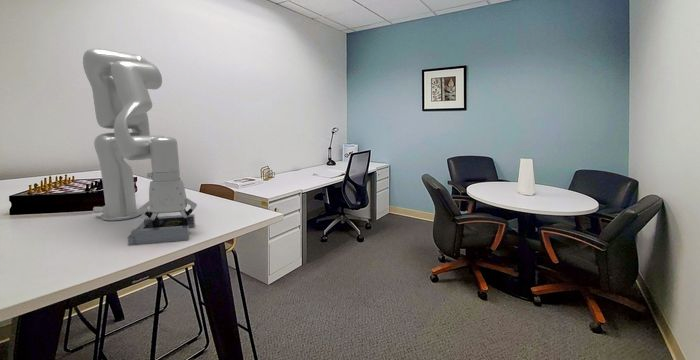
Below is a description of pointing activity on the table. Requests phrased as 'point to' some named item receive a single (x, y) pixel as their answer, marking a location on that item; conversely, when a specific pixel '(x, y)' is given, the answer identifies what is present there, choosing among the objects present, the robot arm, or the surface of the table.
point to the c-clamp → (161, 231)
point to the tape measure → (171, 224)
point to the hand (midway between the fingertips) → (171, 229)
